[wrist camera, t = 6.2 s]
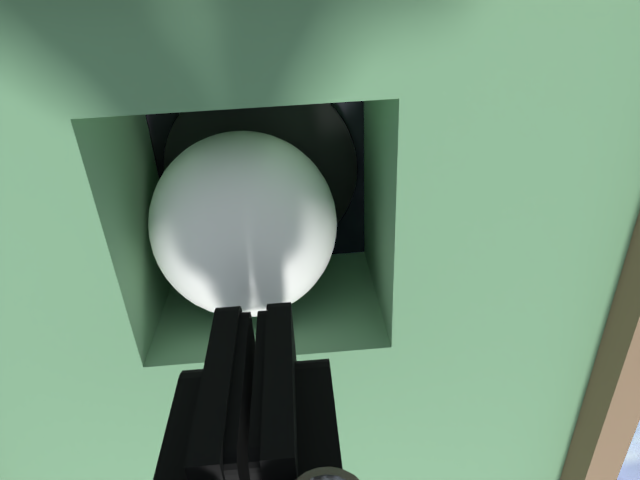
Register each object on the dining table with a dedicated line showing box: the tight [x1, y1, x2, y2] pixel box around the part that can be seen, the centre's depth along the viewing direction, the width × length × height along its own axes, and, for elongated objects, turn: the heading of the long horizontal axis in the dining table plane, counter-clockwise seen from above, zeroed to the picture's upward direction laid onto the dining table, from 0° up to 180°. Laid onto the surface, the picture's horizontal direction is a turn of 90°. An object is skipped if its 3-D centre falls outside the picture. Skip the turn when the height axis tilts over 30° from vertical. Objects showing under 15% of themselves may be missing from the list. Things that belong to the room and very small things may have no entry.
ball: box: [148, 131, 337, 317], centre depth 14 cm, size 5×5×5 cm
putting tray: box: [0, 0, 640, 480], centre depth 17 cm, size 20×28×6 cm
